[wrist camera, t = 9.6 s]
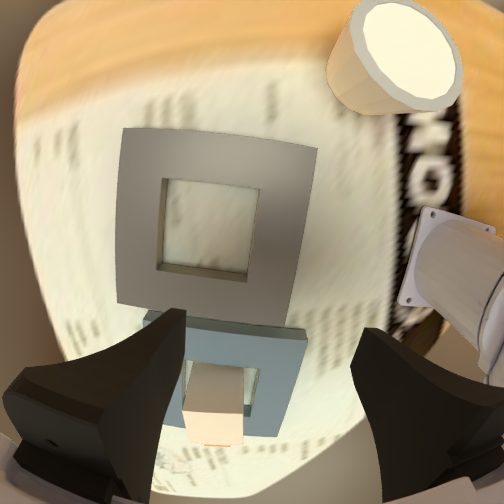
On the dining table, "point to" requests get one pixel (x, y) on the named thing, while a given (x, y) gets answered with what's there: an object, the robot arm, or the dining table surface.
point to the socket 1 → (221, 172)
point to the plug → (214, 405)
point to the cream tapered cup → (394, 60)
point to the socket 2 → (244, 355)
